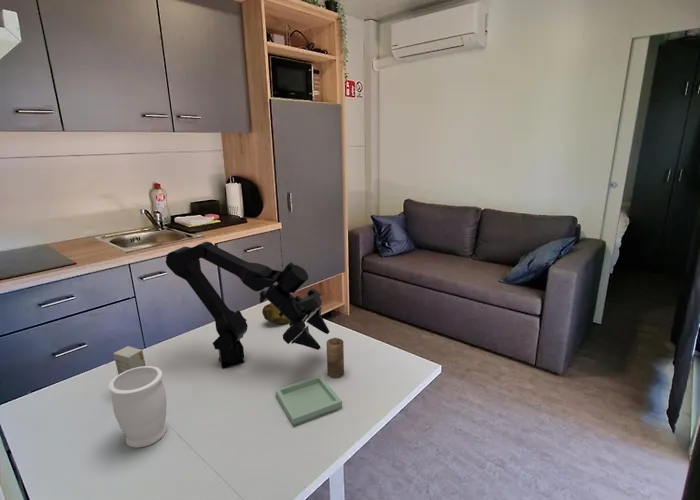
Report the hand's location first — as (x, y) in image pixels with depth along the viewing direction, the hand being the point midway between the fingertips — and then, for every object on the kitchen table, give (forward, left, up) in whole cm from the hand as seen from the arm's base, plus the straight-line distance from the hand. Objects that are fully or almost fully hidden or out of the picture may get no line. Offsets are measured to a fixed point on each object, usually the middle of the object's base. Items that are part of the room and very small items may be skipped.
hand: (324, 340), depth 109 cm
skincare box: (-49, +18, -10) cm, 53 cm away
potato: (-1, +38, -10) cm, 39 cm away
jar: (-47, -2, -10) cm, 48 cm away
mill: (+2, -2, -10) cm, 11 cm away
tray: (-10, -10, -10) cm, 17 cm away
